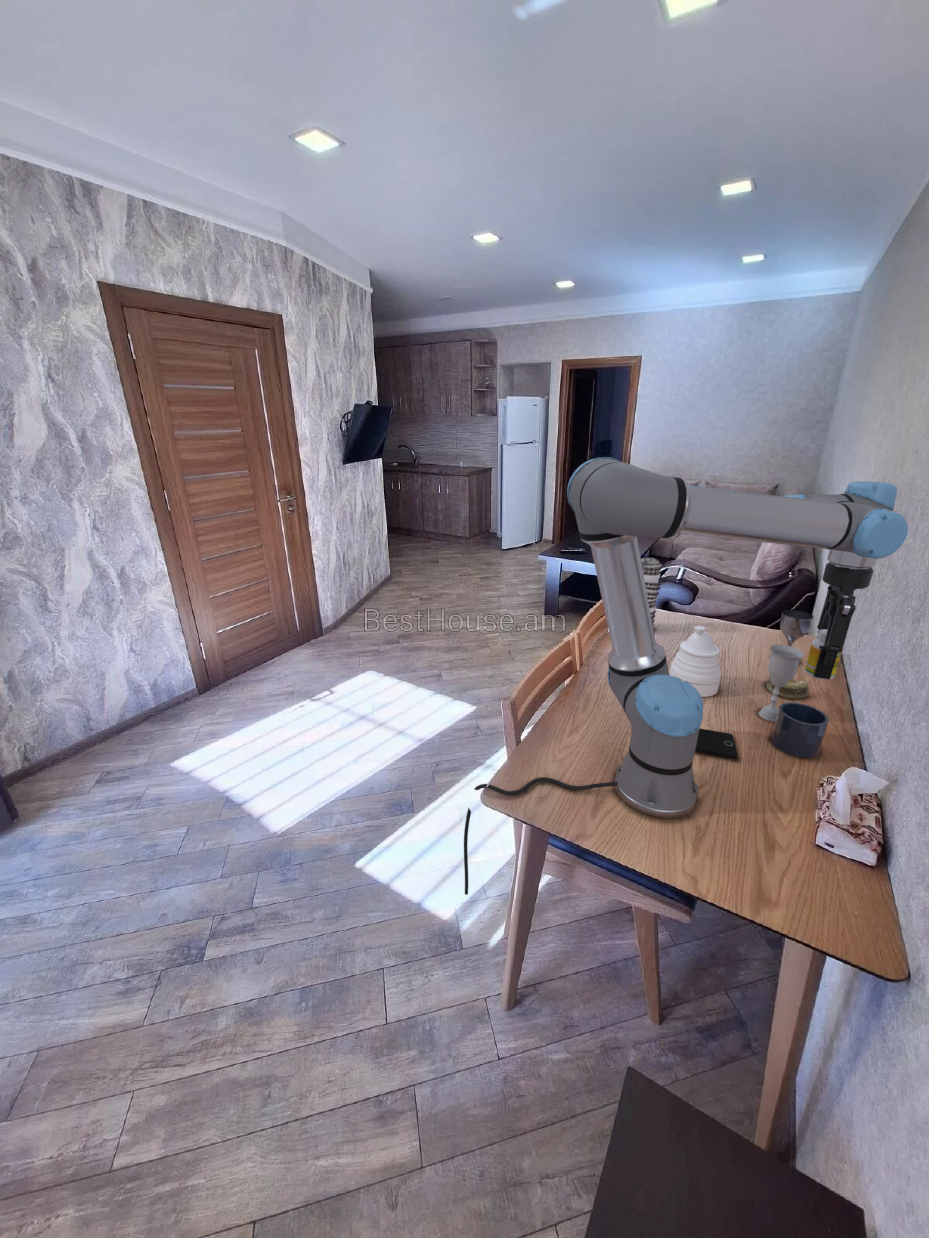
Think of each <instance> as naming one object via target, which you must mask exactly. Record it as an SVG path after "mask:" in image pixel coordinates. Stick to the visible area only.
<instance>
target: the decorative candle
mask: <svg viewBox="0 0 929 1238" xmlns="http://www.w3.org/2000/svg"><path fill="white" fill-rule="evenodd" d="M641 563H642V569H643V574H644V580H645V586H646V591H647V597H648V603H649V608H650V614H651V620H652V625H653V628H654V627H655V624H654V623H655V618H656V615H655V614H656V613H657V610H656V604H657V600H658V599H659V595H660V593H659V592H658V591H660V589H661V587H660V586H661V585H662V583H661V582H660V581H661V580H662V579H663V577H662V576H661V567H663V564H662V563H661V562H660V560H659V559H658V558H654V557H643V558H641Z"/></svg>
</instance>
